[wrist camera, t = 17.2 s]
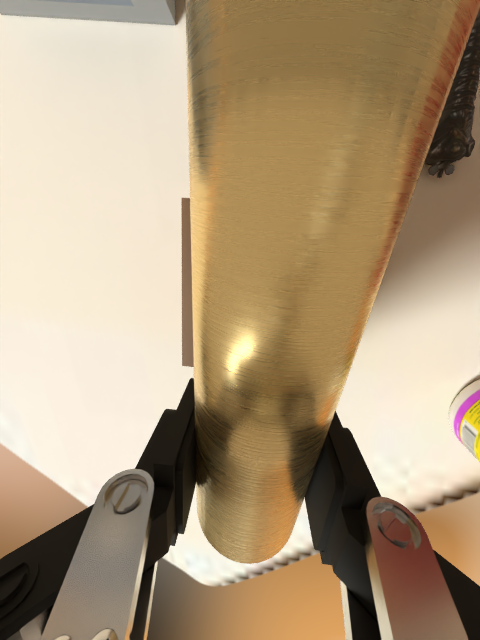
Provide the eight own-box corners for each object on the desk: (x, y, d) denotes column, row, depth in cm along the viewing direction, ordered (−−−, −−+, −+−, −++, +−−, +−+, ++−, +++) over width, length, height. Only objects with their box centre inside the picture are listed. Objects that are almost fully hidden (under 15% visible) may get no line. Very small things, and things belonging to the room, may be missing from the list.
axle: (214, 36, 5) (117, -251, 2) (403, 46, 5) (694, -254, 2) (208, 447, 12) (184, 554, 8) (291, 457, 12) (301, 571, 8)
